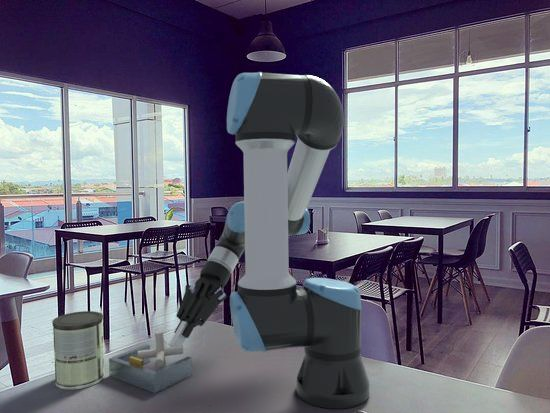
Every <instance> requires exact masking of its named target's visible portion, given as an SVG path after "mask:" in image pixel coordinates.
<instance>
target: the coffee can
mask: <svg viewBox="0 0 550 413" xmlns="http://www.w3.org/2000/svg"><path fill="white" fill-rule="evenodd" d="M103 320H104V315H103V313H102V312H99V311H93V310H92V311H91V310H88V311H86V310H85V311H83V310H82V311H75V312H69V313H66V314H65V313H64V314H62V315H59V316H57V317H55V318H53V320H52V322H51V323H52V327H53V328H52V329H53V330H52V331H53V332H52V333H53V351H54V352H53V354H54V371H55V372H54V376H55V384H54V385H55V386H56V388H59V389H60V390H67V391H68V390H70V391H71V390H72V391H73V390H81V389H86V388H89V387H92V386H94V385H97V384H99V383H100V382H102V381H103V380H104V379H105V375H106V374H105V357H104V354H105V353H104V351H105V350H104V324H103Z"/></svg>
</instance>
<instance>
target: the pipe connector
mask: <svg viewBox="0 0 550 413" xmlns="http://www.w3.org/2000/svg"><path fill="white" fill-rule="evenodd" d="M154 336H155V337H154V338H155V348H150V350H141V351H138V358H139V359H144V358H150V359H151V358H155V360H154V365H155V367H157V368H158V369H157V370H159V369H161V368H164V367H166V366H167V363H166V362H167V358H166V357H168V356H169V357H170V356H175V355H178V356H179V355H184V345H182V346H175V347H170V346H168V347H167V341H166V340H165V338H164V331H163V330H161V329H159V330H155V332H154Z"/></svg>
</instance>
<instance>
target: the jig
mask: <svg viewBox="0 0 550 413" xmlns="http://www.w3.org/2000/svg"><path fill="white" fill-rule="evenodd" d="M150 349H151V345H150V344H144V345H141V346H139V347H136V348H133V349H131V350H128V351H125V352H122V353H120V354H118V355H114V356H112V357H110V358H108V369H109V374H108V376H109V377H111V378H113V379H116V380H119V381H121V382H124V383H128V384H130V385H132V386H135V387H137V388H139V389H143V390H145V391H147V392H150V393H153V394H156V393H159V392H161V391H163V390H165V389H167V388H169V387H171V386H173V385H175V384H177V383H179V382H182V381H183V380H185V379H187V378H189V377H190V376H193V369H192V368H193V366H192V365H193V363H192V362H193V361H192V360H193V358H192V357H190V356H186V357H184V358H182V359H180V360H179V359H178V360H177V361H175V362H173V363H171V364H168V365H166V367H164V368H161V369H159V370H158V369H157V370H153V369H150V368H147V367H144V364H147V363H149V362H151V358H144V359H139V358H138V351H141V350H150Z"/></svg>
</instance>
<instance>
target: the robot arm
mask: <svg viewBox="0 0 550 413" xmlns="http://www.w3.org/2000/svg"><path fill="white" fill-rule="evenodd" d="M341 102H342V101H341V100H340V97H339V95H338V93H337V92H336V91H335V89H334V88H333V87H332V86H331V85H330V84H329V83H328V82H326V81H325V80H324V79H322V78H319V77H318V76H314V75H310V74H304V75H303V74H302V75H301V74H300V75H299V74H287V73H276V72H275V73H272V72H262V71H257V72H242V73H241V72H240V73H239V74H238V75H236V77H235V78H234V80H233V82H232V85H231V89H230V93H229V97H228V102H227V103H228V105H227V112H226V130H227V133H228V134H229V135H231V136H233V135H234V136H235V145H236V146H237V147H238V148H239V149H240V150H241V151H242V153H243V187H244V188H243V196H244V198H243V201H238V202H235V203H234V204H232V205H231V207H230V209H229V210H228V212H227V214H226V218H225V222H224V227H223V231H222V234H221V236H220V237H219V240H218V241H217V243H216V245H215V246H214V248H213V250H212V251H211V253H210V254H209V256H208V258H207V261H205V263H204V265H203V266H202V268H201V270H200V274H199V277H198V279H197V280H195V283H194V284H189V283H187V284H186V285H185V287H184V294H183V297H182V300H181V302H180V305H179V307H178V310H177V313H176V318H178V320H179V323H178V325H177V326H176V328H175V329H174V331H173V332H174V334H173V336H172V338H171V340H170V342H169V343H168V347H175V346H184V345H183V344H185V341H186V339H189V337H190V336H191V333H192V332H193V330H194V328H196V327H198V326H199V327H202V326H204V324H205V323H206V322H207V320H209V318H210V317H211V316H212V314H213V313H214V312H215V310H216V309H217V308H218V307H219V305H220V304H221V303H222V302H223V301H224V300H226V299H227V297H228V296H227V294H226V293H225V292H224V291H223V288H224V287H225V286H226V285H227V283H228V281H229V279H230V277H231V274H232V273H233V272H234V270H235V268H236V266H237V264H238V263H239V262H240V261H239V260H240V258H241V256H242V255H243V253H244V258H245V259H244V264H245V266H244V267H245V268H244V269H245V273H244V275H243V276H242V277H241V278H240V279H239V280H238V282H237V291H234V292H232V293H230V296H229V307H230V308H229V309H230V315H231V316H230V317H231V322H232V327H233V331H234V335H235V338H236V341H237V343H238V346H239V347H240V349H241V350H242V351H244V352H247V353H255V352H259V353H260V352H262V353H266V352H268V351H270V352H271V351H276V350H285V349H296V348H303V347H304V355H303V357H302V361H301V364H300V366H299V370H298V373H297V376H296V381H295V382H296V383H295V386H296V388H295V389H296V394H297V396H298V397H299V398H300V399H301V400H303V401H304V402H306V403H308V404H310V405H313V406H316V407H320V408H326V409H336V410H338V409H348V408H353V407H357V406H359V405H361V404H363V403H365V402H366V401H367V400H368V399H369V398H370V380H369V378H368V374H367V371H366V368H365V365H364V362H363V359H362V355H361V354H362V348H361V347H362V310H363V307H362V302H361V291H360V290H359V288H358V287H357V286H356V285H354V284H352V283H350V282H346V281H344V280H338V279H332V278H325V277H310V278H305V279H304V281H303V283H302V286H303V287H297V279H296V278H295V277H293V276H292V275H291V273H290V268H289V262H290V261H289V260H290V259H289V236H292V237H293V236H294V237H295V236H299V235H305V234H307V233H308V232H309V230H310V224H311V216H310V215H311V214H310V211H309V209H308V206H309V204H310V202H311V199H312V197H313V194H314V191H315V188H316V186H317V184H318V181H319V180H320V177H321V174H322V171H323V169H324V166H325V164H326V161H327V159H328V157H329V154H330V151H331V150H333V149H335V148H336V147H337V146H338V144H339V142H340V140H341V137H342V134H343V130H344V124H345V120H344V119H345V117H344V108H343V105H342V103H341ZM295 137H296V138H297V141H296V138H295ZM294 145H295V148H294V150H293V152H292V153H293V154H292V157H291V160H290V163H289V167H288V153H289V150H290V149H291V148H292V147H293V146H294Z"/></svg>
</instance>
